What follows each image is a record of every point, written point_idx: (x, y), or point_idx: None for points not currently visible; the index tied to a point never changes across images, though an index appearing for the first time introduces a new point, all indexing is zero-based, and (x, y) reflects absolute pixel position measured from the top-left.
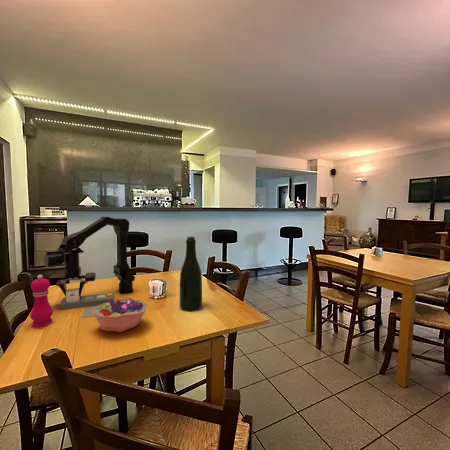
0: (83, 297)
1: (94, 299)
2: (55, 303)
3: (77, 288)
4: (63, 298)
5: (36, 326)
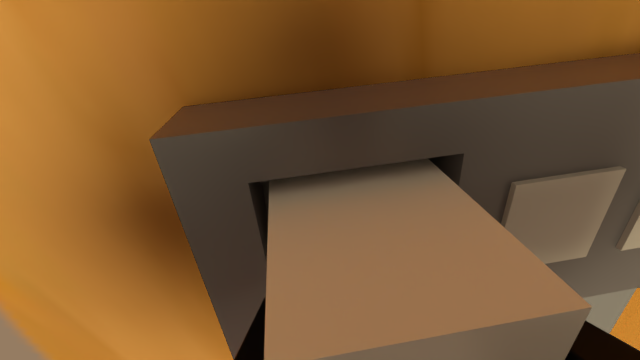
0: (483, 187)
1: (587, 270)
2: (32, 60)
3: (521, 340)
4: (178, 181)
5: None
